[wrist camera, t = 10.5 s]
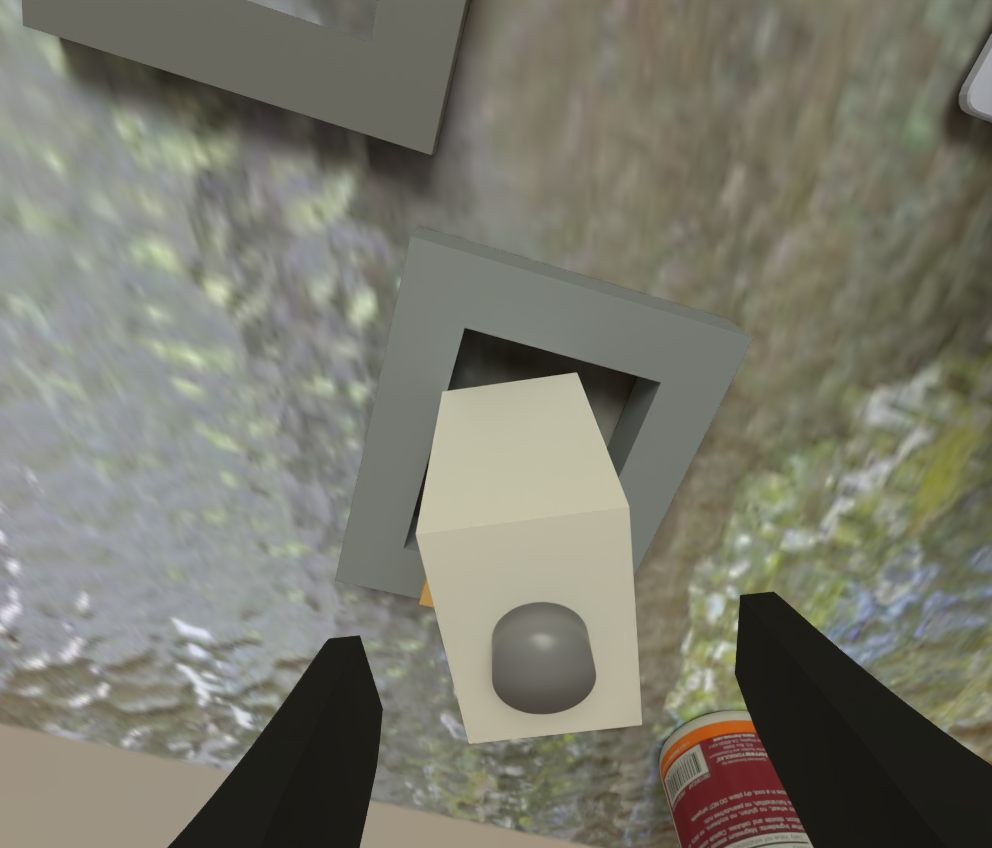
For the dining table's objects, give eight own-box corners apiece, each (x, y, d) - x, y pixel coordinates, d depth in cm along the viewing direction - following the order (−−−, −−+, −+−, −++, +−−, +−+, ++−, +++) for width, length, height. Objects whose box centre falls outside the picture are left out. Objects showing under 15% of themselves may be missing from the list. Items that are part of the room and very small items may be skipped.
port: (727, 318, 18) (762, 344, 16) (594, 599, 23) (606, 650, 21) (418, 226, 17) (408, 239, 15) (347, 544, 22) (330, 592, 20)
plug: (576, 372, 17) (642, 539, 10) (592, 537, 20) (653, 767, 12) (442, 391, 17) (409, 569, 10) (475, 552, 20) (467, 786, 13)
